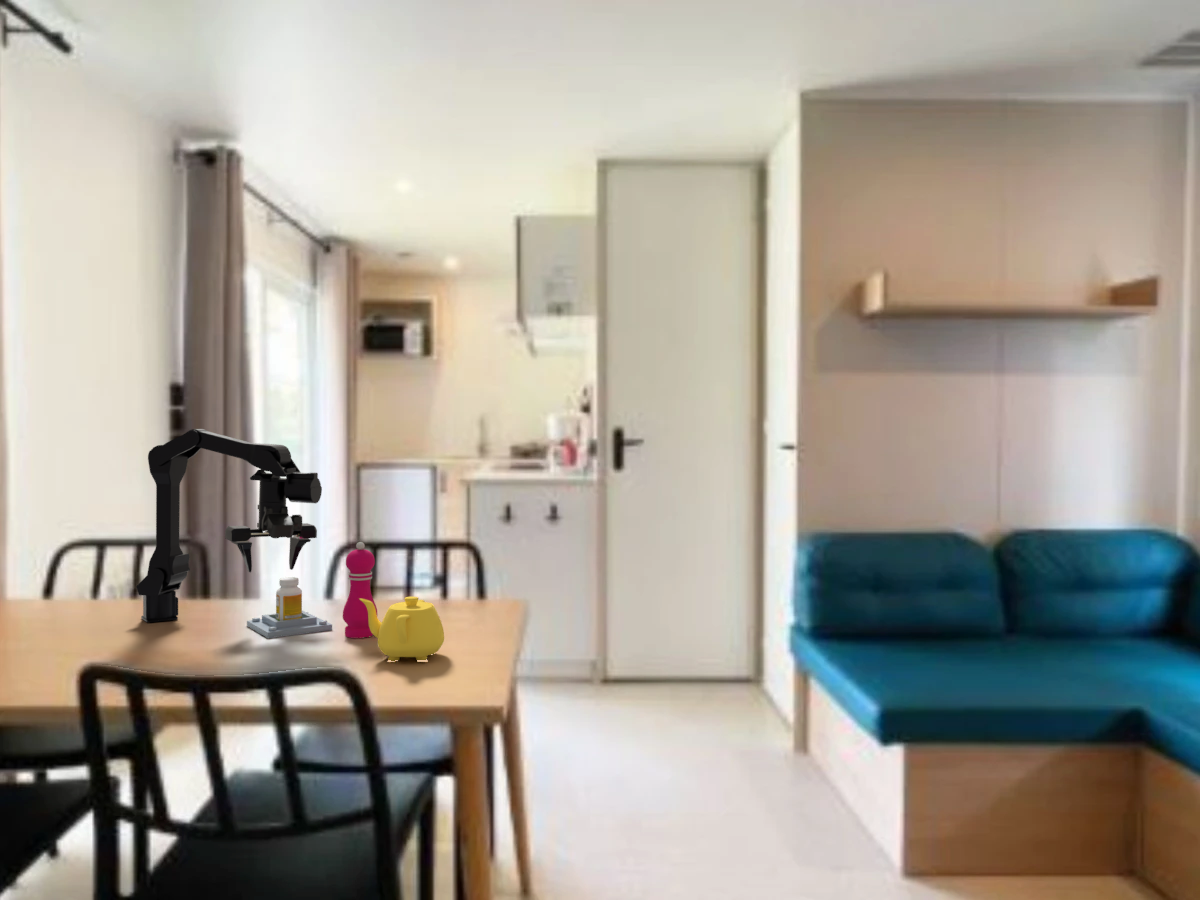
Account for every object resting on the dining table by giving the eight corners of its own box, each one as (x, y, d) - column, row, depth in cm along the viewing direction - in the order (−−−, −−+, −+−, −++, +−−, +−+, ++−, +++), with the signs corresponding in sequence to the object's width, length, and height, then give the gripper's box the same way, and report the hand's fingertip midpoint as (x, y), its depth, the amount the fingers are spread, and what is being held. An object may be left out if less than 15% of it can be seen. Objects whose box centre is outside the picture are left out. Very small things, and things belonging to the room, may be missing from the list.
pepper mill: (384, 633, 204) (384, 541, 204) (362, 640, 198) (363, 545, 197) (357, 630, 207) (357, 539, 207) (335, 636, 201) (335, 542, 200)
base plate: (267, 638, 199) (267, 625, 198) (246, 626, 210) (246, 614, 210) (332, 629, 207) (332, 618, 207) (308, 618, 218) (308, 607, 218)
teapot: (418, 645, 195) (418, 587, 194) (460, 658, 184) (460, 597, 184) (358, 656, 185) (358, 595, 184) (398, 670, 175) (399, 606, 174)
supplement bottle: (307, 621, 210) (307, 577, 210) (291, 626, 205) (291, 581, 205) (286, 619, 212) (286, 575, 211) (270, 624, 207) (270, 579, 206)
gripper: (240, 505, 199) (238, 579, 199) (326, 503, 210) (324, 573, 211) (225, 500, 208) (223, 571, 208) (309, 499, 219) (307, 566, 220)
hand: (270, 570), depth 212 cm, fingers open, 9 cm apart
